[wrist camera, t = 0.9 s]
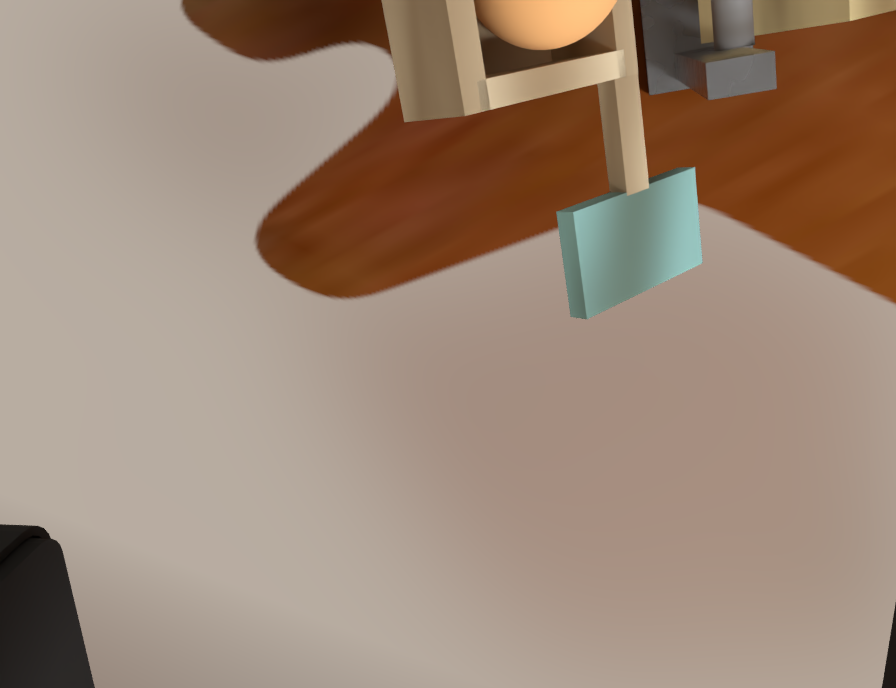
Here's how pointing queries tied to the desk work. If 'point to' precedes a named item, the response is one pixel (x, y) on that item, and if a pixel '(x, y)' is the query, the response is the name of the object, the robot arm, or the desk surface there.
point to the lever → (616, 72)
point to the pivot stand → (698, 55)
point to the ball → (542, 20)
